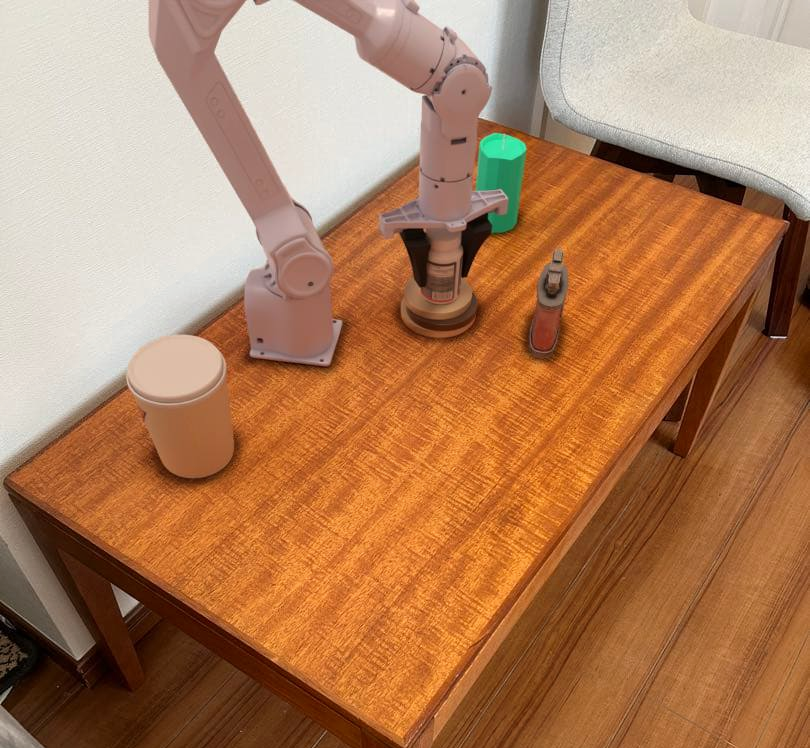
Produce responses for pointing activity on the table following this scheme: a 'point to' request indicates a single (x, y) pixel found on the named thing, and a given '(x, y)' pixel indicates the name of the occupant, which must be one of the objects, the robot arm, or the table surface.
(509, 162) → the candle
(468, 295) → the tan layered disc
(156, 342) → the coffee cup
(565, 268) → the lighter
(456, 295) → the pill bottle
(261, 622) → the table surface
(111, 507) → the table surface
